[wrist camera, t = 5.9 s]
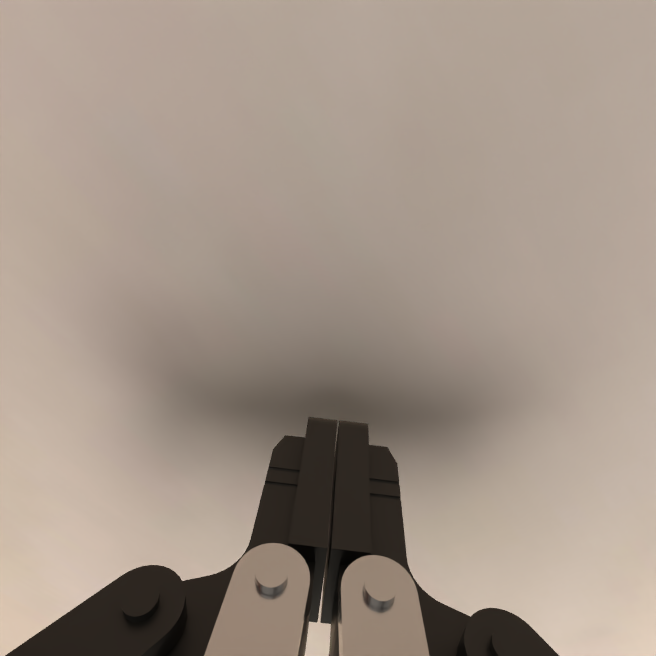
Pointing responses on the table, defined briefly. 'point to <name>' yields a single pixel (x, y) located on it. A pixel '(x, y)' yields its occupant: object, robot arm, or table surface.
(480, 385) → the table surface
